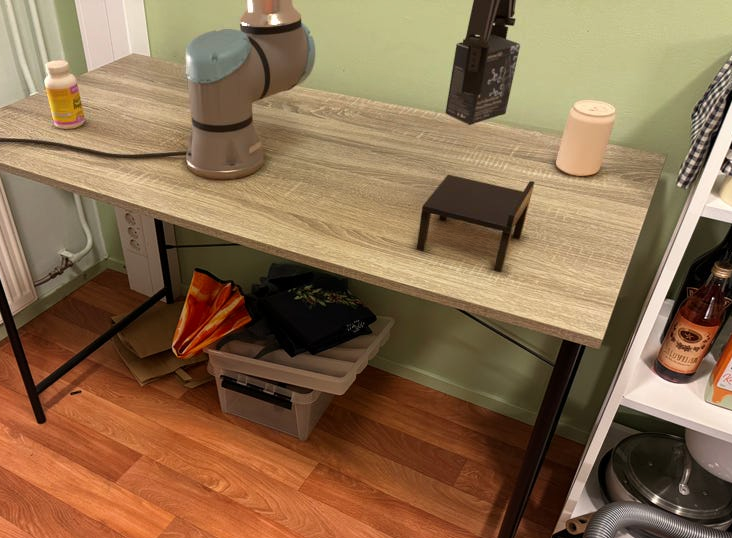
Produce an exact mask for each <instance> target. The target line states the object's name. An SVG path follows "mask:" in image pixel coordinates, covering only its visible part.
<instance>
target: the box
mask: <svg viewBox="0 0 732 538" xmlns="http://www.w3.org/2000/svg"><path fill="white" fill-rule="evenodd" d="M455 45H456V46H455V51H454V57H453V62H452V63H453V64H452V69H451V76H450V81H449V82H450V83H449V88H448V95H447V101H446V106H445V115H446V116H449V117H451V118H453V119H455V120H457V121H459V122H461V123H463V124H466V125H468V126H472V125H474V124H477V123H481V122H483V121H487V120H490V119H492V118H496V117H499V116H504V115H506V113H507V109H508V104H509V100H510V95H511V90H512V85H513V81H514V76H515V71H516V67H517V62H518V58H519V52H520V48H521V44H520V43H518V42H516V41H513V40H510V39H508V38H506V39H505V38H502V37H499V36H496V35H490V37H489V40H488V45H487V46H489V51H488V57H487V63H486V68H485V74H484V80H483V85H482V91H481V94H480V95H477V94H471V93H465V92H462V85H463V79H464V72H465V66H466V60H467V53H468V47H469V46H467V45H463V41H462V42H457V43H456V44H455Z"/></svg>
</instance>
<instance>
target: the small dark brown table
mask: <svg viewBox="0 0 732 538" xmlns="http://www.w3.org/2000/svg"><path fill="white" fill-rule="evenodd" d="M534 187H535V181H533V180H530V181H528V183H527V185H526V187H525V188H524V190H523V191H522V190H519V189H514V188H511V187H505V186H501V185H495V184H492V183H487V182H483V181H479V180H473V179H470V178H465V177H461V176H456V175H452V174H447V175H446V176H445V177H444V179H443V180H442V181H441V182H440V184H439V185H438V186H437V187H436V189H434V191H433V192H432V194H430V196H429V197H428V199H426V201H425V202H424V204H423V205H422V207H421V215H420V222H419V229H418V236H417V243H416V250H418V251H421V252H424V251H425V250H426V248H427V243H428V238H429V237H428V236H429V235H428V234H429V228H430V222H431V215H436V216H439V217H438V221H442V222H446V221H447V220H448V219H451V220H456V221H459V222H465V223H468V224H472V225H475V226H481V227H484V228H489V229H493V230H495V231H500V232H501V236H500V240H499V245H498V249H497V253H496V258H495V262H494V266H493V271H495V272H499V273H502V271H503V269H504V267H505V263H506V258H507V255H508V250H509V246H510V242H511V238H512V239H515V240H521V237H522V234H523V230H524V226H525V223H526V218H527V215H528V210H529V207H530V203H531V198H532V194H533V190H534Z"/></svg>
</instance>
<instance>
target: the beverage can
mask: <svg viewBox="0 0 732 538" xmlns="http://www.w3.org/2000/svg"><path fill="white" fill-rule="evenodd" d="M615 112H616V108H615V107H614V105H612V104H610V103H608V102H606V101H602V100H601V101H600V100H595V99H594V100H593V99H585V100H579V101H577V102H575V103H574V105H573V107H572V108H571V109H569V112H568V116H567V120H566V123H565V127H564V131H563V134H562V138H561V141H560V146H559V148H558V153H557V157H556V161H555V165H556V167H557V168H558V169H559V170H561V171H562V172H564V173H566V174H568V175H571V176H578V177H585V176H590V175H594V174H597V173H599V171H600V169H601V166H602V163H603V159H604V157H605V153H606V150H607V148H608V144H609V140H610V137H611V134H612V131H613V129H614V125H615V122H616V117H617V115H616V113H615Z"/></svg>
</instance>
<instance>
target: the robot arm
mask: <svg viewBox="0 0 732 538" xmlns="http://www.w3.org/2000/svg"><path fill="white" fill-rule="evenodd" d="M516 3H517V0H473V2H472V6H471V10H470V15H469V20H468V25H467V29H466V34H465V38H463V39H462V43H463V45H467V46H469V47H468V53H467V60H466V66H465V72H464V79H463V85H462V92H465V93H471V94H477V95H480V94H481V91H482V85H483V80H484V74H485V68H486V63H487V57H488V51H489V46H487V45H488V40H489V37H490V35H496V36H499V37H502V38H505V39H507V36H508V32H509V27H514V26H515V23H516V21H517V20H516V17H515V18H514V15H515V13H516ZM245 6H246V9H245V11H244V13H243V14H242V15H241V17H240V18H239V27H240V28H239V29H240V30H239V29H234V28H233V29H232V28H231V29H230V28H224V29H220V30H216V29H215V30H211V31H208V32H205V33H202V34H200V35H198V36H196V37H194V38H193V39H192V40H191V41H190V42H189V43H188V45H187V47H186V50H185V76H186V77H187V78H186V79H187V87H188V98H189V108H190V117H191V131H190V135H189V139H188V144H187V148H186V149H187V150H186V151H169V152H155V153H154V152H153V153H151V152H150V153H133V154H127V153H125V154H124V153H113V152H105V151H100V150H95V149H91V148H86V147H83V146H82V147H81V146H76V145H73V144H67V143H61V142H55V141H50V140H41V139H33V138H31V139H30V138H15V137H14V138H13V137H9V138H8V137H2V138H1V137H0V143H21V144H35V145H42V146H43V145H45V146H50V147H51V146H52V147H57V148H63V149H68V150H72V151H77V152H83V153H87V154H92V155H96V156H101V157H106V158H114V159H150V158H151V159H152V158H166V157H180V156H181V157H183V156H185V157H186V158H185V159H186V166H187V168H188V170H189V171H190V172H191V173H193V174H194V175H196V176H199V177H201V178H205V179H209V180H210V179H211V180H233V179H234V180H235V179H241V178H243V177H247V176H250V175H252V174H255V173H256V172H257V171H259V170H260V169H261V168H262V167H263V166H264V162H265V161H264V150H263V147H262V141H261V140H259V137H258V133H257V131H256V128H255V126H254V117H253V103H254V102H255V103H256V102H258V101H261V100H263V99H265V98H269V97H271V96H274V95H277V94H279V93H282V92H288V91H290V90H292V89H294V88H295V87H297V86H299V85H301V84H303V83H304V82H305V81H306V80H307V79H308V78H309V76H310V75H311V74H312V71H313V68H314V67H315V66H314V65H315V63H316V62H315V61H316V45H315V44H316V43H315V40H314V37H313V35H311V30H310V29H309V28H308V26H307V25H305V24H304V23H303V22H302V14H301V13H300V12H299V11H298V10H297V8H295V7H294V5H293V0H245Z"/></svg>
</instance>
